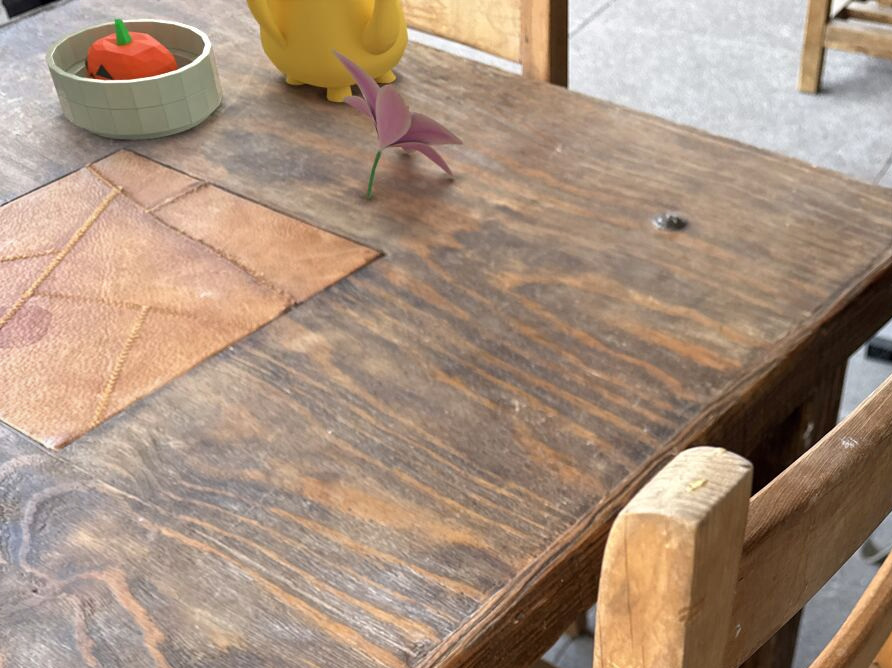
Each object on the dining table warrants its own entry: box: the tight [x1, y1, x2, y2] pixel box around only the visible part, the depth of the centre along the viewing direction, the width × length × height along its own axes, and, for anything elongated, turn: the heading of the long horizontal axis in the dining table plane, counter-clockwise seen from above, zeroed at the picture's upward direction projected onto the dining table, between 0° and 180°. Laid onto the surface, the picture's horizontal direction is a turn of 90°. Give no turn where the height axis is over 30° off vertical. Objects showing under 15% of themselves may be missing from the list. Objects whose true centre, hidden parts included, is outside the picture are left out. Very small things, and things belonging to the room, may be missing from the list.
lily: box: [331, 49, 464, 199], centre depth 96 cm, size 12×12×10 cm
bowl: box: [44, 18, 223, 141], centre depth 105 cm, size 14×14×5 cm
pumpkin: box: [85, 18, 178, 80], centre depth 104 cm, size 7×8×6 cm
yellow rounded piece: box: [246, 0, 409, 103], centre depth 107 cm, size 14×14×12 cm
